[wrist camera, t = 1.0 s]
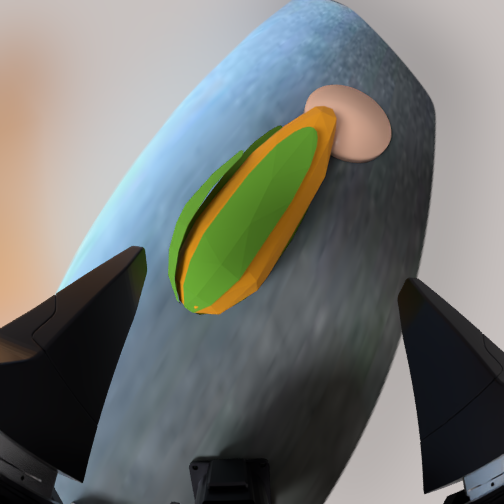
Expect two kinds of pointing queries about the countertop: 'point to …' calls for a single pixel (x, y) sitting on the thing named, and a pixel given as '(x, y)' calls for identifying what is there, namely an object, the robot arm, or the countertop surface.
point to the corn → (249, 214)
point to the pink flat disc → (353, 123)
